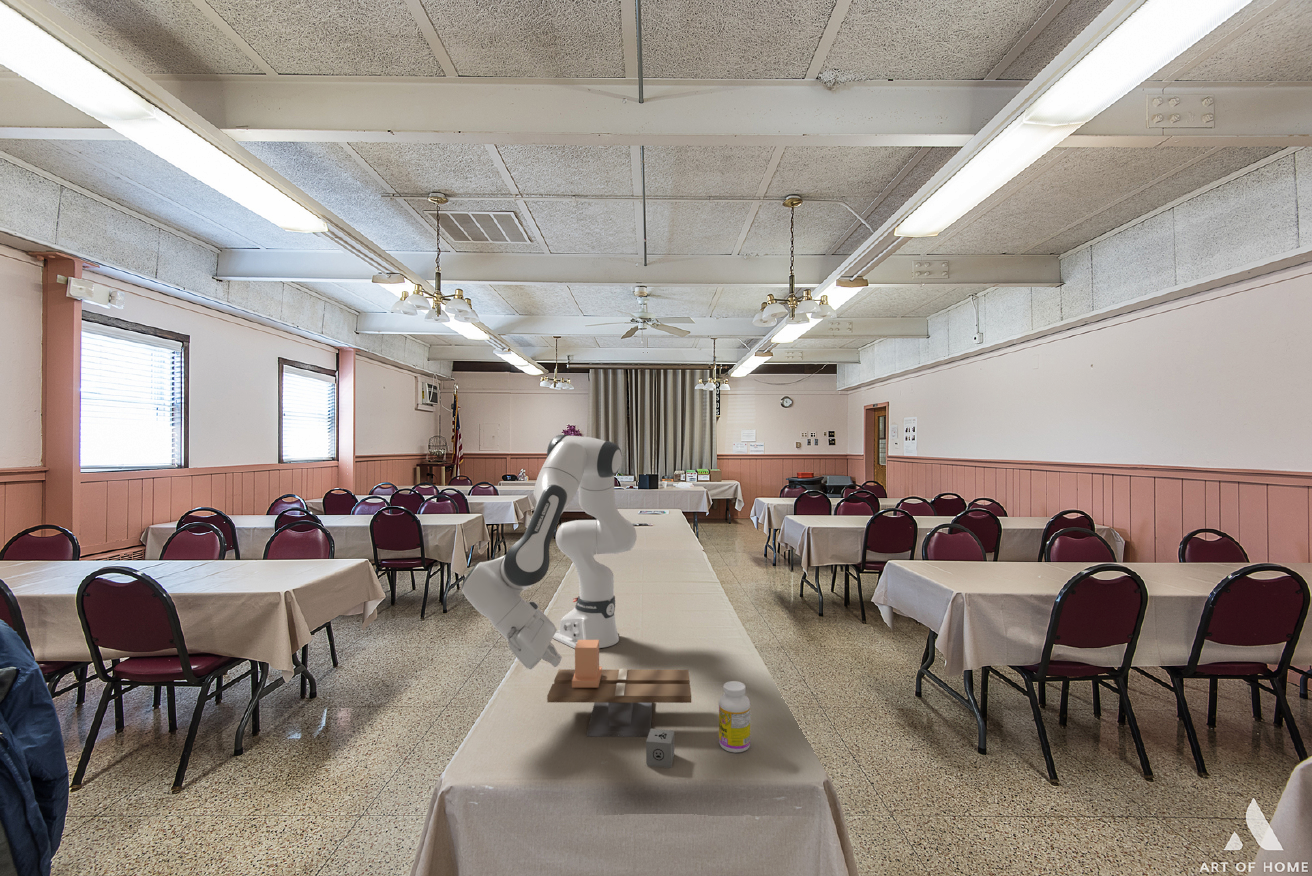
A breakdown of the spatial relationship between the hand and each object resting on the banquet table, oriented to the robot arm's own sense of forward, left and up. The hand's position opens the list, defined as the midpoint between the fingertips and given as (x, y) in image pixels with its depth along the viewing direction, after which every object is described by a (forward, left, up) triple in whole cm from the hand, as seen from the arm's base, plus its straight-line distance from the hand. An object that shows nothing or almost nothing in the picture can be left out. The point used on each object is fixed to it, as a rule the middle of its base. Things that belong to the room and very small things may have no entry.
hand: (559, 662), depth 132 cm
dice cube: (+29, 0, -13) cm, 32 cm away
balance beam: (+12, +8, -13) cm, 20 cm away
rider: (+5, +4, -5) cm, 9 cm away
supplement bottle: (+39, +13, -13) cm, 43 cm away
